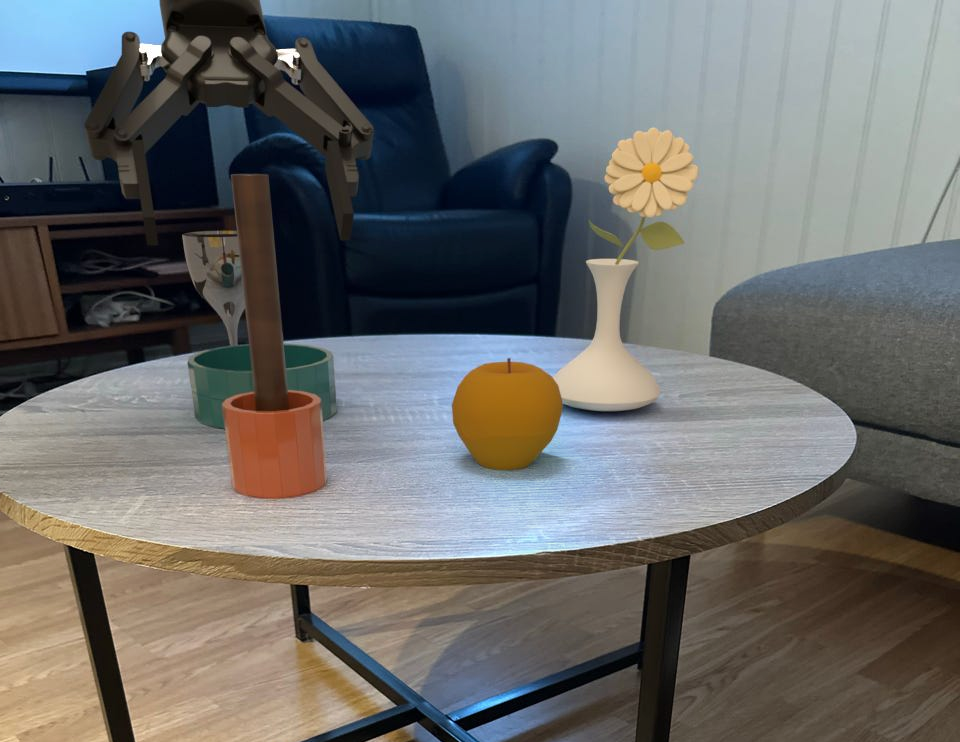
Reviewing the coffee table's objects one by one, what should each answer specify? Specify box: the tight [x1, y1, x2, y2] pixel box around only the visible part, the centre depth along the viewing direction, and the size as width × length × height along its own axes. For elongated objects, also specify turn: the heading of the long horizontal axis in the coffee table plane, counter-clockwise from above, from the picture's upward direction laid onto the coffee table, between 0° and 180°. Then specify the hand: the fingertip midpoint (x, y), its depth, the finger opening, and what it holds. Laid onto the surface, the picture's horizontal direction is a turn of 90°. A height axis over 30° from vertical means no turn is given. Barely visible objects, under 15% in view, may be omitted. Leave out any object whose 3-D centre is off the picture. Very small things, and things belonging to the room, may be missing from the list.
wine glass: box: [181, 230, 245, 346], centre depth 103 cm, size 8×8×15 cm
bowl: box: [187, 343, 338, 430], centre depth 89 cm, size 13×13×6 cm
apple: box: [451, 357, 564, 471], centre depth 75 cm, size 9×9×9 cm
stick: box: [230, 173, 290, 411], centre depth 66 cm, size 3×2×21 cm
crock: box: [222, 390, 328, 500], centre depth 70 cm, size 7×7×7 cm
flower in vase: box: [552, 127, 699, 412], centre depth 89 cm, size 13×11×25 cm
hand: (251, 230), depth 66 cm, fingers open, 13 cm apart
